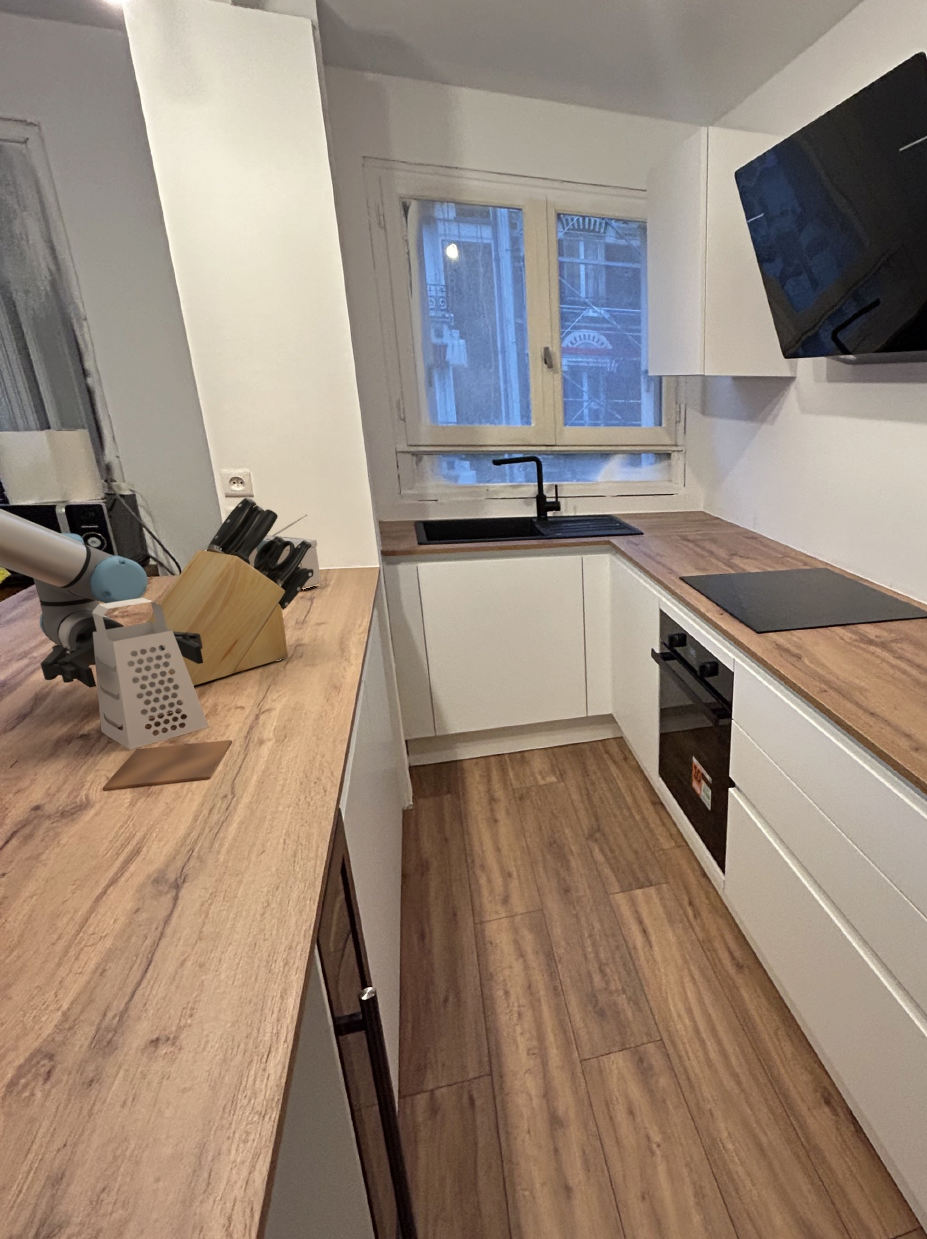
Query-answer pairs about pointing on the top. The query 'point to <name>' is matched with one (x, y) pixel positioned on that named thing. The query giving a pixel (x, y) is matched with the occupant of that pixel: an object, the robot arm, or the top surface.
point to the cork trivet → (169, 764)
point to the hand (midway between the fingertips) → (147, 666)
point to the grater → (142, 680)
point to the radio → (307, 562)
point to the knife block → (236, 595)
